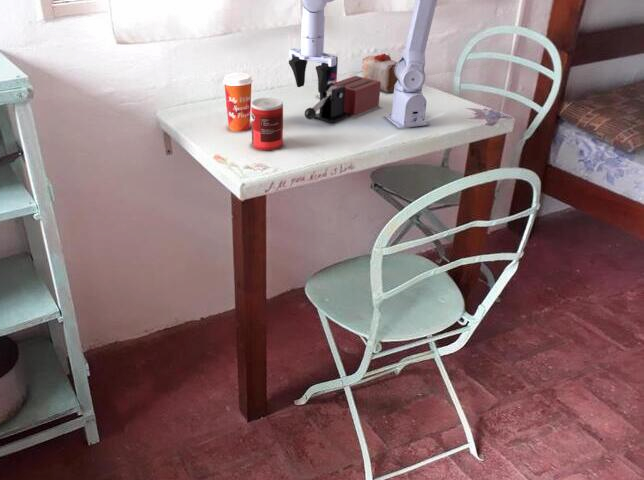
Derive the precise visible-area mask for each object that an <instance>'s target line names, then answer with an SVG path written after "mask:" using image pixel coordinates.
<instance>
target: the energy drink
mask: <svg viewBox="0 0 644 480" xmlns="http://www.w3.org/2000/svg"><path fill="white" fill-rule="evenodd" d="M327 54H328V55H330V56H332V57H336V68H335V69H334V71H333V72H332V74H331V76H330V79H329V81H328V84H329V83H336V82H338V65H339V64H338V62H339V61H338V60H339V58H338V55H337V54H335V53H327ZM319 65H321V63H318V66H319ZM317 97H318V98H320V93H319V91H318V90H317Z"/></svg>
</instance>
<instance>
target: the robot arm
mask: <svg viewBox="0 0 644 480" xmlns="http://www.w3.org/2000/svg"><path fill="white" fill-rule="evenodd" d="M334 1H335V0H301V2H302V4H303V5H302V10H301V13H302V16H301V33H300V34H301V36H300V37H301V38H300V39H301V41H300V48H296V47H295V48H290V49H288V58H291V59H289V60H288V65H289V67H290V69H291V71H292V73H293V75H294V79H295V85H296V87H297V88H301V87H304V86H305V82H306V71H307V65H308V62H313V63H317V64H318V65H317V66H315V71H316V75H317V92H318V91H319V93H323V92H326V88H327V84H328V81H329V79H330V76H331V74H332V72H333V71H334V69H335V68H336V57H332V56H330V55H328V54H329V53H326V52H324V50H325V49H324V47H325V45H324V44H325V23H326V22H325V21H326V16H325V7H326V6H327V3H333V2H334ZM437 2H438V0H415V1H414V6H413V11H412V15H411V19H410V24H409V29H408V34H407V38H406V42H405V47H404V49H403V50H402V52H401V55H400V58H399V60H398V61H397V62H398V63H397V64H396V66H395V76H396V77H397V78H398V80H397V82H396V84H395V85H394V92H393V94H392V95H393V96H392V106H391V114H385V118H386V119H387V120H388V121H390V122H391V123H392V124H393V125H394V126H396V127H397V128H399V129H406V128H414V127H424V126H428V122H426V120H425V119H426V110H427V104H428V103H427V99H426V97H425V96H424V94H423V86H424V84H425V82H426V72H425V67H426V48H427V45H428V40H429V35H430V31H431V27H432V24H433V20H434V16H435V10H436V6H437ZM319 63H321V65H319Z"/></svg>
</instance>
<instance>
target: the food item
mask: <svg viewBox="0 0 644 480" xmlns="http://www.w3.org/2000/svg"><path fill="white" fill-rule="evenodd" d="M390 55H391V53H388V54H386V53H382V54H377V55H368V56H365V57H362V60H361V63H362V64H361V69H362V70H361V77H363V78H367V79H371V80H376V81H380V82H381V85H380V91H383V92H385V93H389V94H391V93H394V85H395V84H396V82H397V80H398V78H397V77H396V76H395V66H396V64H397V63H398V62H399V61H395V60H393V59H391V56H390Z"/></svg>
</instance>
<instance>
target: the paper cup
mask: <svg viewBox="0 0 644 480" xmlns="http://www.w3.org/2000/svg"><path fill="white" fill-rule="evenodd" d="M253 82H254V79H253V77H252V76H251V74H250V73H246V72H232V73H231V72H230V73H227V74H226V75H224V79H223V81H222V83H223V84H224V93H225V105H226V106H225V107H226V114H227V122H228V123H227V124H228V129H229V130H230V131H232V132H244V131H248V130H249V129H250V126H251V104H252V85H253V84H252V83H253Z"/></svg>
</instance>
